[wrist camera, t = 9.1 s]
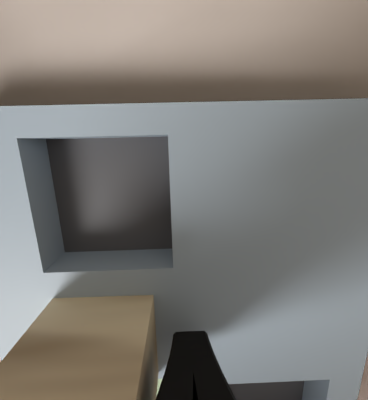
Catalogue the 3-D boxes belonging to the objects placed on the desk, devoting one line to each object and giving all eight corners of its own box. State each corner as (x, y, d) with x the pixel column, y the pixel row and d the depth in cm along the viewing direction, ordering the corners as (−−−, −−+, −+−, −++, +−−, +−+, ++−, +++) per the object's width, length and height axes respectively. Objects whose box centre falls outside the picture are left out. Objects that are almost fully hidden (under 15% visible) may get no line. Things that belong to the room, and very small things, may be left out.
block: (158, 372, 10) (145, 518, 6) (67, 376, 10) (-4, 526, 6) (153, 294, 9) (134, 408, 5) (52, 298, 9) (-44, 416, 5)
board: (319, 421, 14) (365, 511, 10) (55, 434, 13) (14, 531, 10) (372, 106, 9) (482, 85, 6) (-17, 115, 9) (-133, 98, 6)
